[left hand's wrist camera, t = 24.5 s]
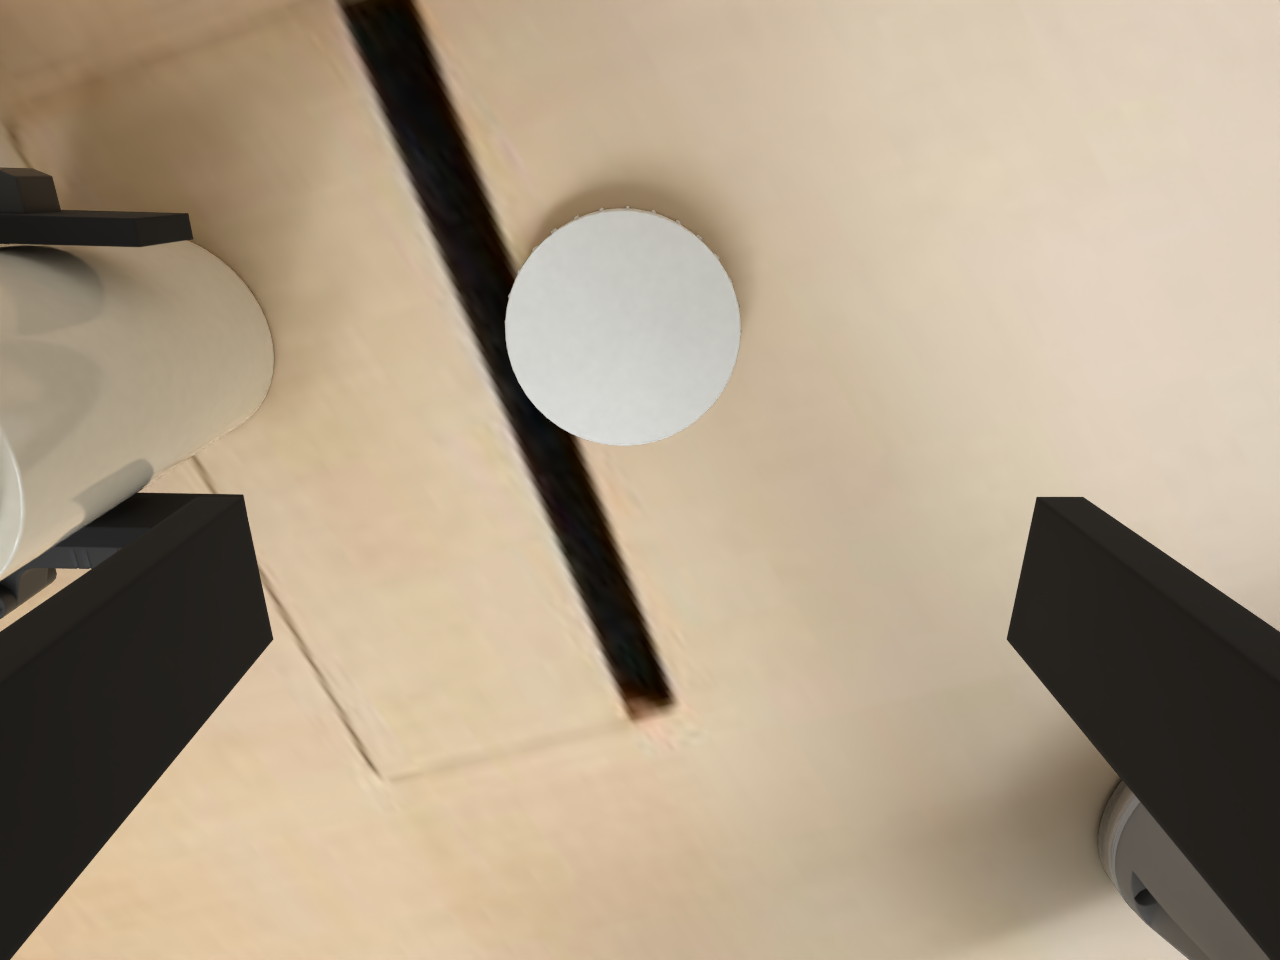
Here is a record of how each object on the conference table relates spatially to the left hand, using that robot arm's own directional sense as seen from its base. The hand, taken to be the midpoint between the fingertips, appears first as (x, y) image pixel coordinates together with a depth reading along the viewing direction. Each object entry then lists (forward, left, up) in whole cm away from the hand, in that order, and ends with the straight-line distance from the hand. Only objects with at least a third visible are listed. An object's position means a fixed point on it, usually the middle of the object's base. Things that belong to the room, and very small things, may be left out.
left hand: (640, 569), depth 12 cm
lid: (+1, 0, -17) cm, 17 cm away
